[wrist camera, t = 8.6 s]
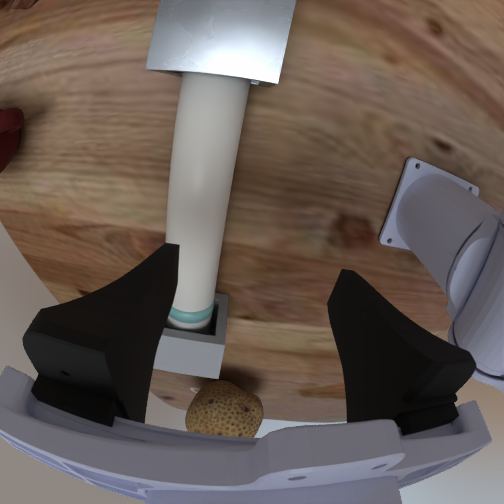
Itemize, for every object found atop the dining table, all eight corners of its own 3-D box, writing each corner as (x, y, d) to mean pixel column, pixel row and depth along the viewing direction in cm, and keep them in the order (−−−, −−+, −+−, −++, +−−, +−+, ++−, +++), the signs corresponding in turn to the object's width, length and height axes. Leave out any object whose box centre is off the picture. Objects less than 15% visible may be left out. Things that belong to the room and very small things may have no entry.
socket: (159, 283, 26) (141, 331, 20) (228, 294, 26) (224, 345, 21) (160, 320, 28) (146, 366, 23) (222, 330, 29) (218, 379, 24)
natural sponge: (256, 359, 31) (258, 436, 23) (266, 395, 36) (269, 459, 27) (182, 365, 32) (170, 437, 24) (204, 399, 37) (198, 461, 28)
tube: (197, 39, 14) (183, 25, 11) (259, 46, 15) (261, 33, 11) (170, 309, 26) (160, 341, 23) (212, 316, 26) (207, 349, 23)
